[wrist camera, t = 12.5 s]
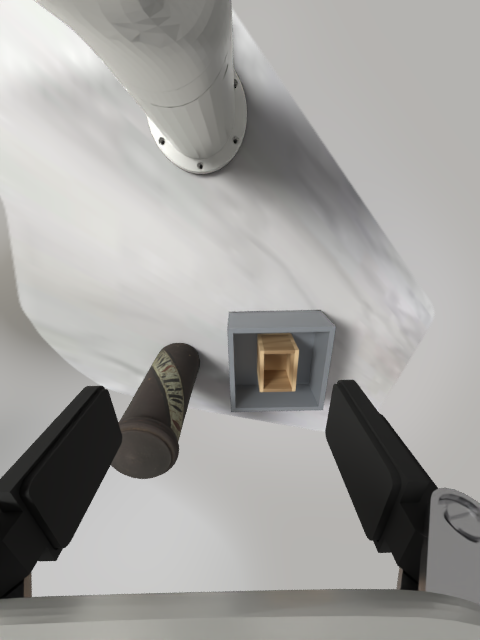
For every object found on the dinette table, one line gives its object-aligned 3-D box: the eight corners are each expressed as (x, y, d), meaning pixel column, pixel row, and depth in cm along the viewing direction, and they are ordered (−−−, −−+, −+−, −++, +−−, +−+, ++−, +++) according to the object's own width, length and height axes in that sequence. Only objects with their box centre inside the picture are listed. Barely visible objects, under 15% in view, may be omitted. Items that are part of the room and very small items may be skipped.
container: (208, 351, 43) (187, 446, 25) (191, 386, 46) (161, 493, 28) (164, 334, 42) (106, 421, 23) (150, 371, 45) (89, 474, 26)
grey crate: (229, 311, 40) (227, 328, 34) (320, 309, 40) (336, 326, 34) (232, 385, 46) (231, 412, 40) (311, 384, 46) (322, 410, 40)
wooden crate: (257, 333, 41) (260, 350, 35) (290, 332, 41) (299, 349, 35) (256, 371, 44) (259, 392, 38) (288, 370, 44) (295, 391, 38)
